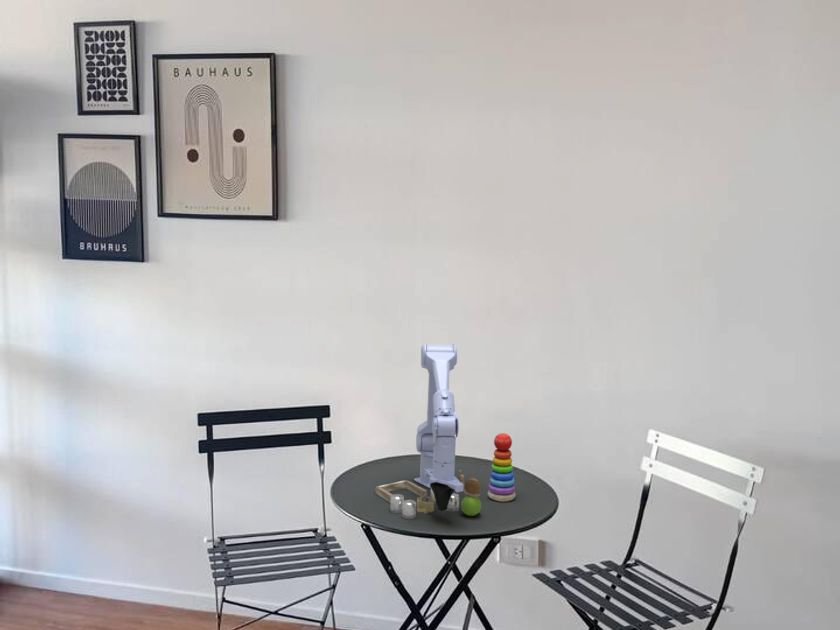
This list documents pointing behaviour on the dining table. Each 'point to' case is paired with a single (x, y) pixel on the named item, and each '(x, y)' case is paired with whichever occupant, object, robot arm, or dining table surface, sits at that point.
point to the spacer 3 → (433, 496)
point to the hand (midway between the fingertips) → (442, 509)
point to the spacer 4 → (453, 503)
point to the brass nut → (425, 504)
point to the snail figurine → (470, 496)
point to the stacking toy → (502, 470)
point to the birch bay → (385, 489)
